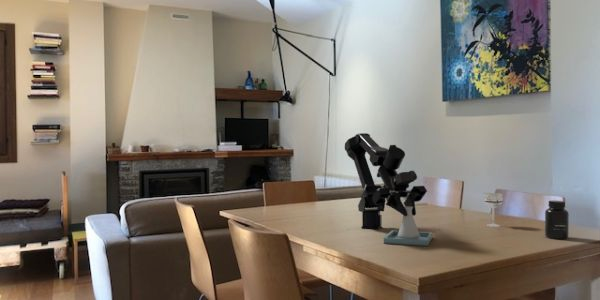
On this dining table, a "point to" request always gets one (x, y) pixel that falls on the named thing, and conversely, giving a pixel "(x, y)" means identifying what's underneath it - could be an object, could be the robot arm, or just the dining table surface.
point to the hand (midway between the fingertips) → (410, 215)
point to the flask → (408, 226)
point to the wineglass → (493, 203)
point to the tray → (421, 241)
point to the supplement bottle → (556, 220)
